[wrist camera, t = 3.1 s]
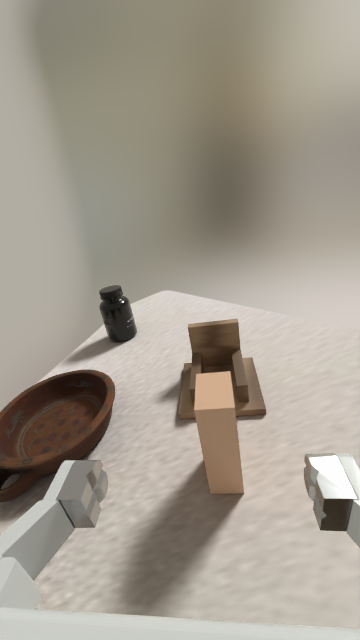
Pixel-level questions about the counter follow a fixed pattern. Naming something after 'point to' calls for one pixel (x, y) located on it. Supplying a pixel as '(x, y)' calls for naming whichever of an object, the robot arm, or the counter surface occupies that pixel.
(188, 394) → the tan railed base plate
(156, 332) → the counter surface
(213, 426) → the clay block
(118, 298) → the supplement bottle
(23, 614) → the robot arm
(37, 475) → the dish
